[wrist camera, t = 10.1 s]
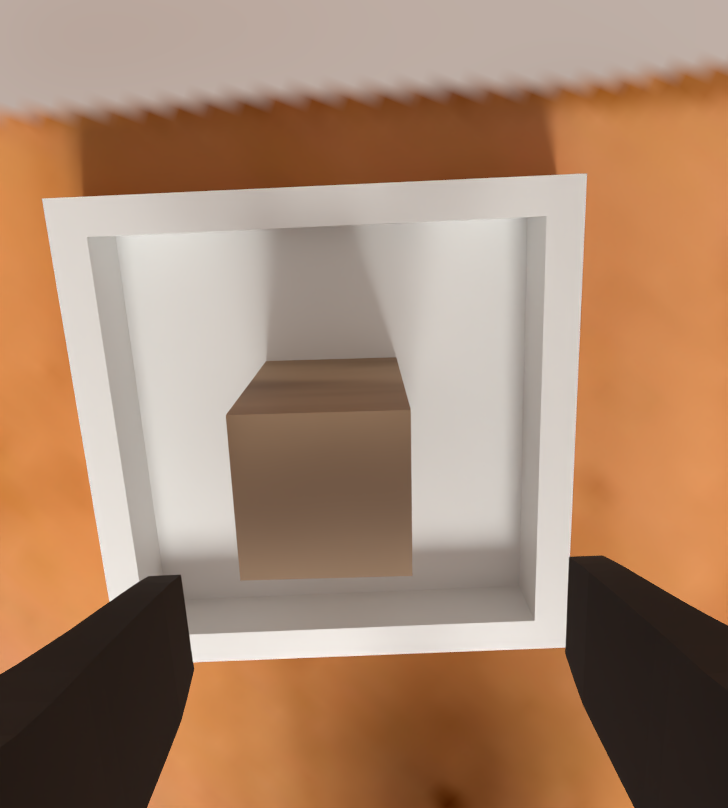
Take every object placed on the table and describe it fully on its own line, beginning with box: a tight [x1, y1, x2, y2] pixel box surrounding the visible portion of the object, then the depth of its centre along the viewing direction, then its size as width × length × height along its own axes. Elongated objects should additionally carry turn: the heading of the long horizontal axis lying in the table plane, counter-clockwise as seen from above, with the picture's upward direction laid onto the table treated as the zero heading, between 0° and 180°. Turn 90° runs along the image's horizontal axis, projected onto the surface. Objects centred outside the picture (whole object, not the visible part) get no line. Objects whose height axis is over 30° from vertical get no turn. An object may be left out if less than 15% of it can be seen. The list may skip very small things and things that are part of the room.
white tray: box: [42, 173, 587, 662], centre depth 19 cm, size 14×14×2 cm
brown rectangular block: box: [226, 357, 412, 581], centre depth 17 cm, size 4×4×6 cm
